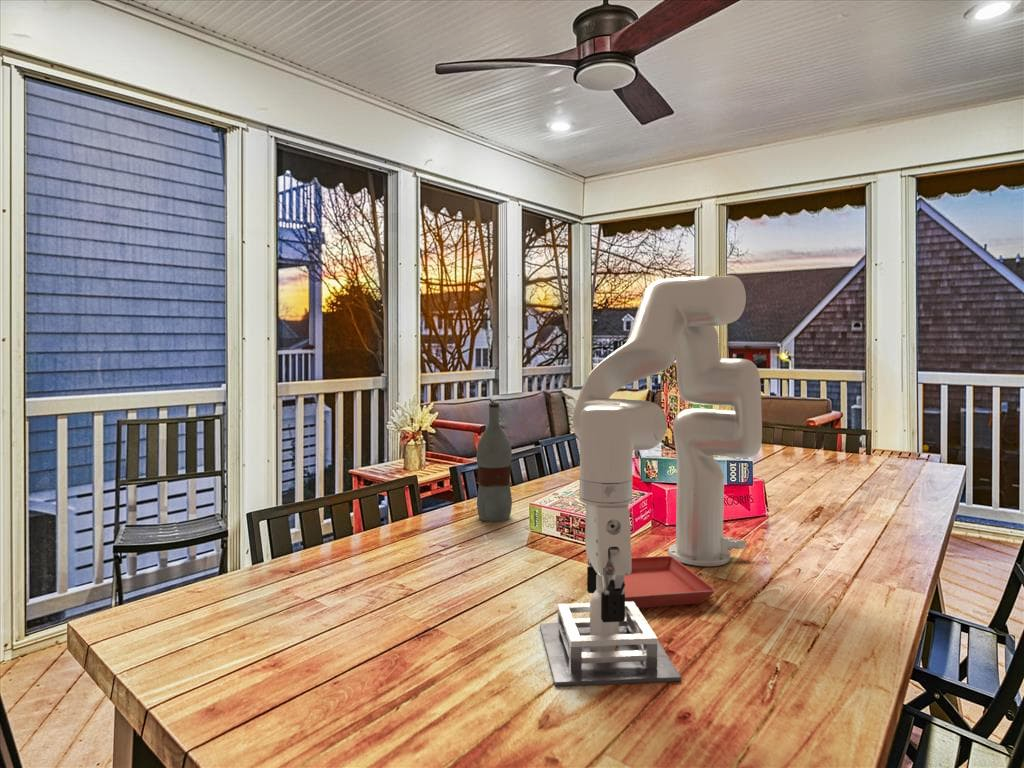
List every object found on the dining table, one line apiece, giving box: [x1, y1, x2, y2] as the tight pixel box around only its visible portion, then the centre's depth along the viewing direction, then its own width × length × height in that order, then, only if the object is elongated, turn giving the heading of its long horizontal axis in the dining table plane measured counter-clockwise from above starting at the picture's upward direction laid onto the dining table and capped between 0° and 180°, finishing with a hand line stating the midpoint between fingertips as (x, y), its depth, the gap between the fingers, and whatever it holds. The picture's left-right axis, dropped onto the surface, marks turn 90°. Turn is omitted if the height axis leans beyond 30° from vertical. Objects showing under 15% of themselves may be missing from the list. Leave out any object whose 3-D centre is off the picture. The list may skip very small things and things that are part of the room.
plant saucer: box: [586, 555, 716, 609], centre depth 112 cm, size 18×18×3 cm
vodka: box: [476, 402, 513, 522], centre depth 158 cm, size 9×9×30 cm
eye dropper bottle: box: [589, 569, 619, 652], centre depth 89 cm, size 4×6×12 cm
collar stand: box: [539, 601, 682, 687], centre depth 89 cm, size 17×17×5 cm
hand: (604, 605), depth 89 cm, fingers open, 9 cm apart
